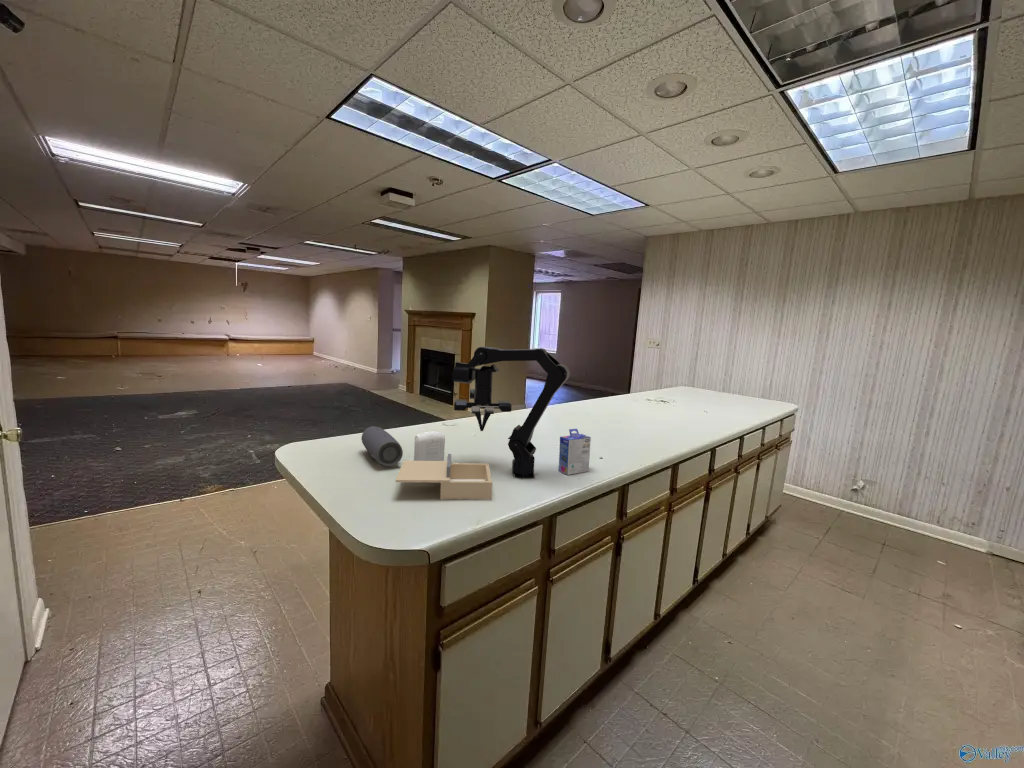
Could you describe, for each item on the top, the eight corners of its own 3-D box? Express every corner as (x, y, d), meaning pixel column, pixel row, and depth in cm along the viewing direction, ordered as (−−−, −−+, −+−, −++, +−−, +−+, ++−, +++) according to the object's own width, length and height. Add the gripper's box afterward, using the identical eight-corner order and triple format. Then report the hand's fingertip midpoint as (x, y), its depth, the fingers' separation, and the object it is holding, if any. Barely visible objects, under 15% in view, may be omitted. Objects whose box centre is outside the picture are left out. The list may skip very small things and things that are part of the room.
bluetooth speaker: (404, 468, 137) (405, 438, 135) (375, 472, 132) (376, 441, 131) (385, 449, 156) (385, 423, 154) (359, 452, 151) (359, 425, 150)
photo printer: (440, 463, 143) (441, 428, 141) (445, 467, 139) (447, 431, 138) (411, 468, 137) (412, 431, 135) (416, 472, 133) (417, 434, 132)
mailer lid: (451, 462, 129) (451, 451, 128) (449, 482, 113) (450, 469, 112) (403, 462, 127) (404, 451, 126) (395, 482, 111) (395, 469, 110)
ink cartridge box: (579, 466, 147) (582, 427, 145) (589, 471, 143) (592, 430, 141) (557, 470, 142) (559, 429, 140) (567, 475, 137) (570, 433, 136)
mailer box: (487, 478, 131) (488, 463, 130) (491, 499, 115) (492, 482, 114) (442, 478, 129) (443, 463, 128) (440, 499, 113) (440, 482, 112)
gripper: (508, 382, 146) (506, 425, 148) (455, 380, 143) (453, 424, 145) (512, 387, 135) (510, 433, 137) (454, 385, 132) (453, 432, 134)
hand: (481, 430), depth 139 cm, fingers closed
